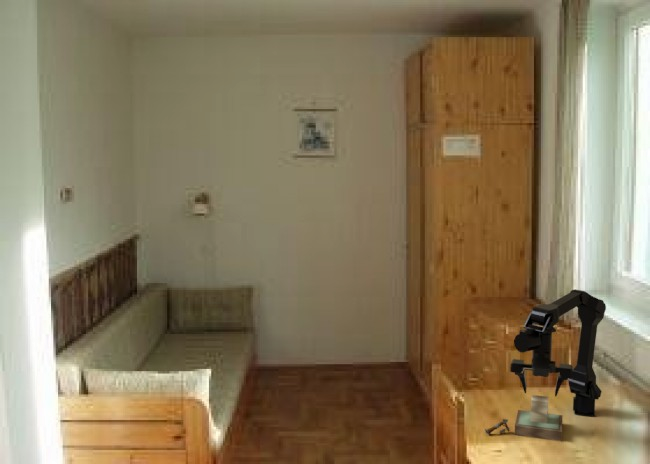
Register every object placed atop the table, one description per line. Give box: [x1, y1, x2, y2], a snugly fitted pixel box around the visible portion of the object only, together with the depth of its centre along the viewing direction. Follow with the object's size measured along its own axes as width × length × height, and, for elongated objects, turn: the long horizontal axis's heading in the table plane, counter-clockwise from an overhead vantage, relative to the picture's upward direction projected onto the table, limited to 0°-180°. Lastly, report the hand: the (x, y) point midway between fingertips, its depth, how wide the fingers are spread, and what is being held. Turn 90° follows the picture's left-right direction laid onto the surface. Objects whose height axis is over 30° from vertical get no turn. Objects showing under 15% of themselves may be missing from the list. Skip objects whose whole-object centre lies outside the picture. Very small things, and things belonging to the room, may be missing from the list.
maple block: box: [530, 394, 549, 423], centre depth 219 cm, size 5×5×7 cm
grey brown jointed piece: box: [484, 418, 511, 436], centre depth 216 cm, size 2×8×4 cm, turn 105°
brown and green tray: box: [513, 409, 563, 442], centre depth 219 cm, size 14×14×3 cm
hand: (540, 394), depth 219 cm, fingers open, 9 cm apart
